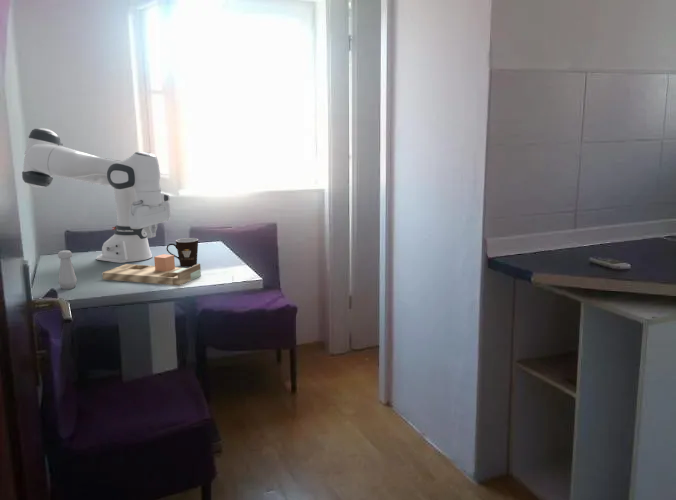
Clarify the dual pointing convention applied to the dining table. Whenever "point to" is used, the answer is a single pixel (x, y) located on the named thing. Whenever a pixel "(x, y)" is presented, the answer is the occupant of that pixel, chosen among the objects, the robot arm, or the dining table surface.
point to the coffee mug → (186, 251)
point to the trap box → (152, 274)
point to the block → (164, 262)
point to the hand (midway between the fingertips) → (151, 237)
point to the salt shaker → (66, 271)
